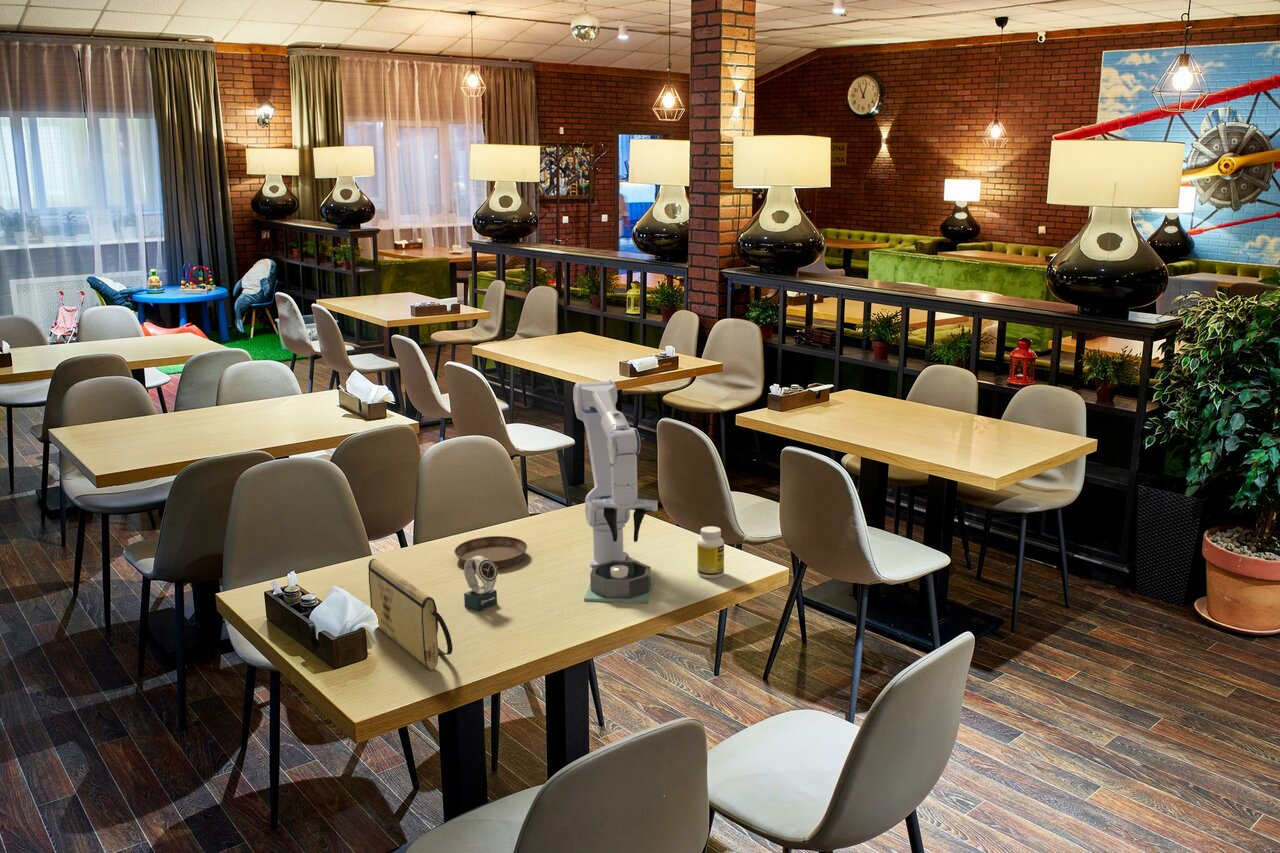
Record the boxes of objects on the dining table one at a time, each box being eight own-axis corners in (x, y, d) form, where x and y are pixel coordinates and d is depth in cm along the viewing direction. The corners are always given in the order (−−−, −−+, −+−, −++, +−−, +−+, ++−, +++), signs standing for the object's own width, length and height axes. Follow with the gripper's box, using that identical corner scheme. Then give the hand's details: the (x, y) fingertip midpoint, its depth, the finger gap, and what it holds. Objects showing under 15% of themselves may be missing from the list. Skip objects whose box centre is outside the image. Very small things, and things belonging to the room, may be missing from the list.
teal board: (593, 577, 247) (593, 575, 246) (653, 579, 245) (653, 576, 245) (584, 600, 233) (583, 598, 233) (647, 602, 232) (647, 600, 231)
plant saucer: (471, 577, 248) (470, 565, 248) (444, 555, 263) (443, 543, 263) (539, 563, 257) (539, 551, 257) (509, 542, 272) (509, 531, 271)
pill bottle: (722, 580, 244) (722, 534, 241) (695, 578, 245) (695, 532, 243) (725, 570, 250) (725, 525, 247) (699, 569, 251) (699, 524, 249)
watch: (484, 613, 227) (481, 565, 224) (459, 604, 232) (456, 557, 230) (503, 605, 231) (501, 558, 229) (478, 597, 236) (476, 550, 234)
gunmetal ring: (596, 576, 246) (596, 559, 245) (652, 577, 244) (652, 561, 244) (588, 597, 233) (587, 580, 232) (646, 599, 232) (646, 581, 231)
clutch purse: (463, 666, 203) (459, 592, 200) (429, 676, 199) (424, 601, 196) (398, 617, 226) (394, 550, 223) (367, 625, 222) (362, 557, 219)
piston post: (612, 583, 241) (611, 565, 240) (629, 584, 241) (629, 565, 240) (609, 590, 237) (609, 571, 236) (627, 590, 237) (627, 571, 236)
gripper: (589, 486, 234) (591, 545, 237) (655, 487, 233) (655, 546, 236) (594, 478, 241) (595, 535, 244) (658, 479, 239) (658, 536, 243)
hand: (625, 540), depth 240 cm, fingers open, 4 cm apart
